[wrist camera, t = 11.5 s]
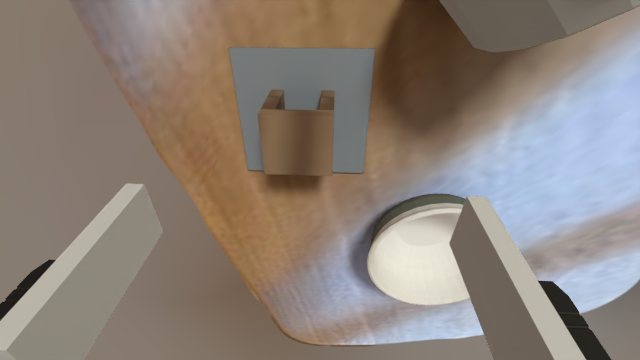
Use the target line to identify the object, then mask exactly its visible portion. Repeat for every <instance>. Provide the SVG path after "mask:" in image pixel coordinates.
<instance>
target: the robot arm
mask: <svg viewBox="0 0 640 360" xmlns="http://www.w3.org/2000/svg"><path fill="white" fill-rule="evenodd" d="M162 233H163V229H162V227H161V224H160V222H159V219H158V217H157V215H156V212H155V209H154V207H153V205H152V202H151V200H150V197H149V195H148V192H147V190H146V187H145V185H144V184H125V185H124V186H123V188H122V189H121V190H120V191H119V192H118V193H117V194H116V195H115V196H114V197H113V199H112V200H111V201H110V202H109V203H108V204H107V205H106V206H105V207H104V208H103V209H102V210H101V212H100V213H99V214H98V215H97V216H96V217H95V218H94V219H93V220H92V221H91V223H90V224H89V225H88V226H87V227H86V228H85V229H84V230H83V231H82V232H81V233H80V234H79V236H78V237H77V238H76V239H75V240H74V241H73V242H72V243H71V244H70V246H69V247H68V248H67V249H66V250H65V251H64V252H63V253H62V254H61V255H60V256H59V257H58V259H57V260H48V261H47V262H45V263H44V264H42V265H41V266H39V267H38V268H37V269H35V270H33V271H32V272H31V273H30V274H29V275H28V276H27V277H26V278H25V279H24V280H23V281H22V282H21V283H20V284H19V285H18V286H17V289H16V290H13V292H12V293H11V294H10V295H9V296H8V297H7V298H6V301H5V302H2V303H1V304H0V360H84V358H85V357H86V355H87V354H88V352H89V350H90V349H91V347H92V345H93V344H94V342H95V341H96V339H97V337H98V336H99V334H100V333H101V331H102V329H103V328H104V326H105V325H106V323H107V321H108V320H109V318H110V317H111V315H112V313H113V312H114V310H115V308H116V307H117V305H118V304H119V302H120V301H121V299H122V297H123V296H124V294H125V293H126V291H127V289H128V288H129V286H130V285H131V283H132V281H133V280H134V278H135V277H136V275H137V273H138V272H139V270H140V269H141V267H142V265H143V264H144V262H145V260H146V259H147V257H148V256H149V254H150V252H151V251H152V249H153V248H154V246H155V244H156V243H157V241H158V240H159V238H160V236H161V235H162ZM449 244H450V247H451V249H452V252H453V255H454V257H455V260H456V262H457V265H458V268H459V270H460V273H461V275H462V278H463V281H464V283H465V286H466V288H467V291H468V294H469V296H470V299H471V301H472V304H473V307H474V309H475V312H476V314H477V317H478V319H479V322H480V325H481V327H482V330H483V332H484V335H485V338H486V340H487V343H488V345H489V348H490V351H491V353H492V356H493V358H494V360H611V359H610V357H609V356H608V354H607V353H606V351H605V350H604V348H603V347H602V345H601V344H600V342H599V341H598V339H597V338H596V336H595V335H594V333H593V332H592V330H590V329H589V328H588V324H587V323H586V321H585V320H584V318H583V317H582V316H580V315H579V311H578V310H577V308H576V307H575V305H574V304H573V302H572V301H571V299H570V298H569V296H568V295H567V294H566V293H565V292H563V291H562V290H561V289H560V288H559V287H558V286H557V285H556V284H555V283H553V282H552V281H538V280H537V279H536V277H535V275H534V274H533V272H532V271H531V269H530V267H529V266H528V264H527V262H526V261H525V259H524V258H523V256H522V254H521V253H520V251H519V249H518V248H517V246H516V244H515V243H514V241H513V240H512V238H511V236H510V235H509V233H508V231H507V230H506V228H505V226H504V225H503V223H502V222H501V220H500V218H499V217H498V215H497V213H496V212H495V210H494V209H493V207H492V205H491V204H490V202H489V200H488V199H487V197H478V196H467V197H466V200H465V203H464V205H463V208H462V211H461V213H460V216H459V219H458V221H457V224H456V227H455V229H454V232H453V235H452V237H451V240H450V243H449Z"/></svg>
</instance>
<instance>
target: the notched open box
mask: <svg viewBox="0 0 640 360" xmlns="http://www.w3.org/2000/svg"><path fill="white" fill-rule="evenodd" d="M334 99H335V91H331V90H322V93H321V101H320V108H319V110H288V109H285V101H284V90H271V91H270V93H269V94H268V96H267V98H266V100H265V102H264V104H263V105H262V107H261V109H260V111H259V113H258V115H257V116H258V124H259V132H260V140H261V148H262V156H263V164H264V172H265V174H275V175H313V176H332V171H333V139H334Z"/></svg>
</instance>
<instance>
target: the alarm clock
mask: <svg viewBox="0 0 640 360" xmlns="http://www.w3.org/2000/svg"><path fill="white" fill-rule="evenodd" d="M439 1H440V2H441V4H442V5H443V7H444V8H445V9H446V11H447V12H448V13H449V15H450V16H451V17H452V19H453V20H454V21H455V23H456V24H457V26H458V27H459V28H460V30H461V31H462V32H463V34H464V35H465V36H466V38H467V39H468V40H469V42H470V43H471V45H472V46H473V47H474V48H476V49H480V50H484V51H488V52H492V53H494V52H504V51H513V50H523V49H527V48H530V47H533V46H537V45H540V44H544V43H547V42H550V41H554V40H557V39H561V38H564V37H568V36H570V35H573V34H575V33H578V32H580V31H582V30H585V29H587V28H589V27H592V26H594V25H597V24H599V23H601V22H604V21H606V20H608V19H611V18H613V17H615V16H618V15H620V14H623V13H625V12H627V11H630V10H632V9H634V8H636V7H638V6H640V0H439Z"/></svg>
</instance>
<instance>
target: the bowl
mask: <svg viewBox="0 0 640 360" xmlns="http://www.w3.org/2000/svg"><path fill="white" fill-rule="evenodd" d="M465 200H466V199H464V198H461V197H458V196H454V195H449V194H427V195H421V196H417V197H413V198H411V199H408V200H406V201H404V202H402V203H400V204H398V205H397V206H395V207H393V208H392V209H391V210H390V211H389V212H388V213H386V214H385V216H384V217H383V218H382V220H381V221H380V222H379V224H378V225H377V227H376V229H375V231H374V233H373V235H372V240H371V249H370V251H369V253H368V258H367V270H368V274H369V276H370V278H371V280H372V281H373V283H374V284H375V285H376V286H377V288H378V289H380V290H381V291H382V292H383V293H385V294H386V295H388V296H390V297H392V298H394V299H396V300H399V301H402V302H405V303H411V304H416V305H443V304H450V303H455V302H459V301H462V300H466V299H468V298H470V296H469V294H468V291H467V288H466V286H465V283H464V281H463V278H462V275H461V273H460V270H459V268H458V265H457V262H456V260H455V257H454V255H453V252H452V249H451V247H450V244H449V243H450V240H451V237H452V235H453V232H454V229H455V227H456V224H457V221H458V219H459V216H460V213H461V211H462V208H463V205H464V203H465ZM508 233H509V232H508ZM509 235H510V233H509Z"/></svg>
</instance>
